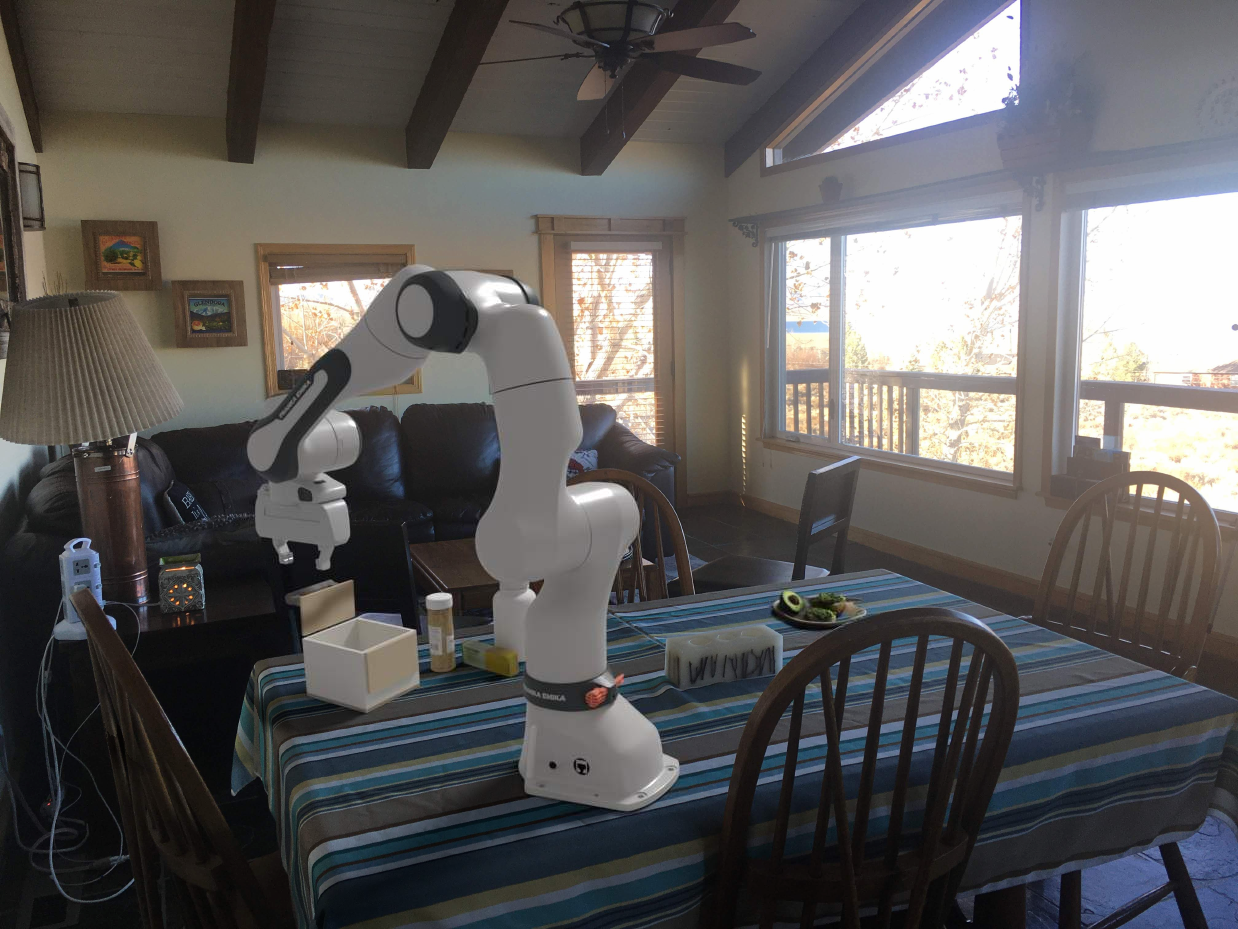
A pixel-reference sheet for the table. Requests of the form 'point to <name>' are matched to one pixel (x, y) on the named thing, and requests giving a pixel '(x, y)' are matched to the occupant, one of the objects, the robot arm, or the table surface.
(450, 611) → the sprinkles bottle
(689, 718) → the table surface
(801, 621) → the salad plate
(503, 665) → the medication box
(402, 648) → the carton
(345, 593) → the flap
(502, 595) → the pill bottle
